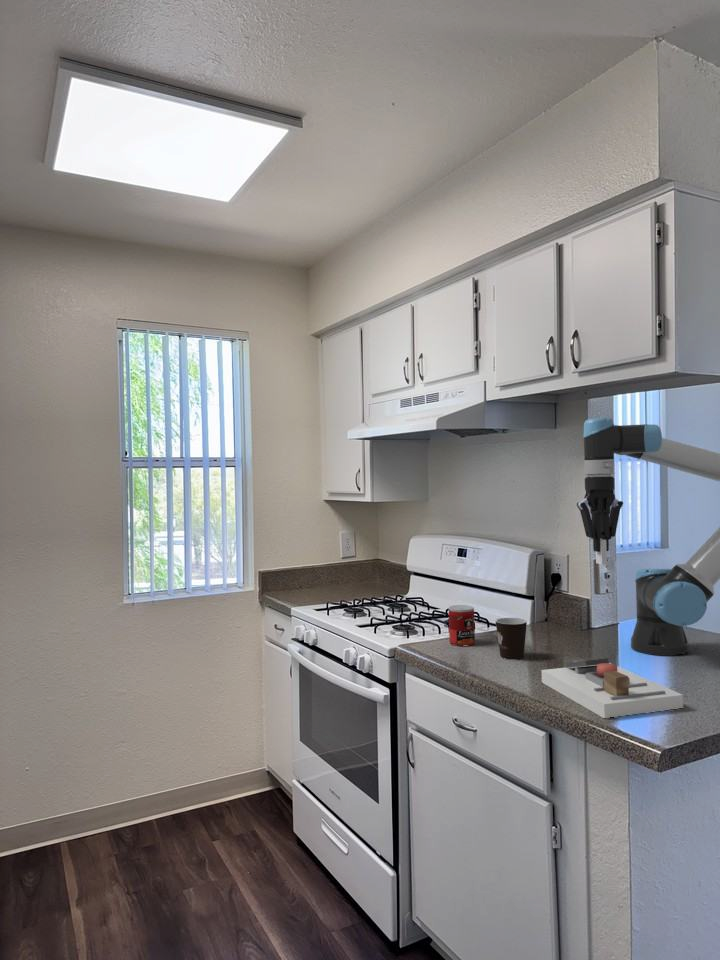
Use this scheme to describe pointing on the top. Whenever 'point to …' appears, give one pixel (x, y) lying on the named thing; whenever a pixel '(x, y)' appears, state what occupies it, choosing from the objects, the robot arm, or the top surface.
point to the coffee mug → (511, 637)
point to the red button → (605, 668)
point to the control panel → (591, 694)
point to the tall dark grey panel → (586, 663)
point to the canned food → (461, 625)
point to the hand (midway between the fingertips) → (601, 563)
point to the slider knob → (616, 683)
